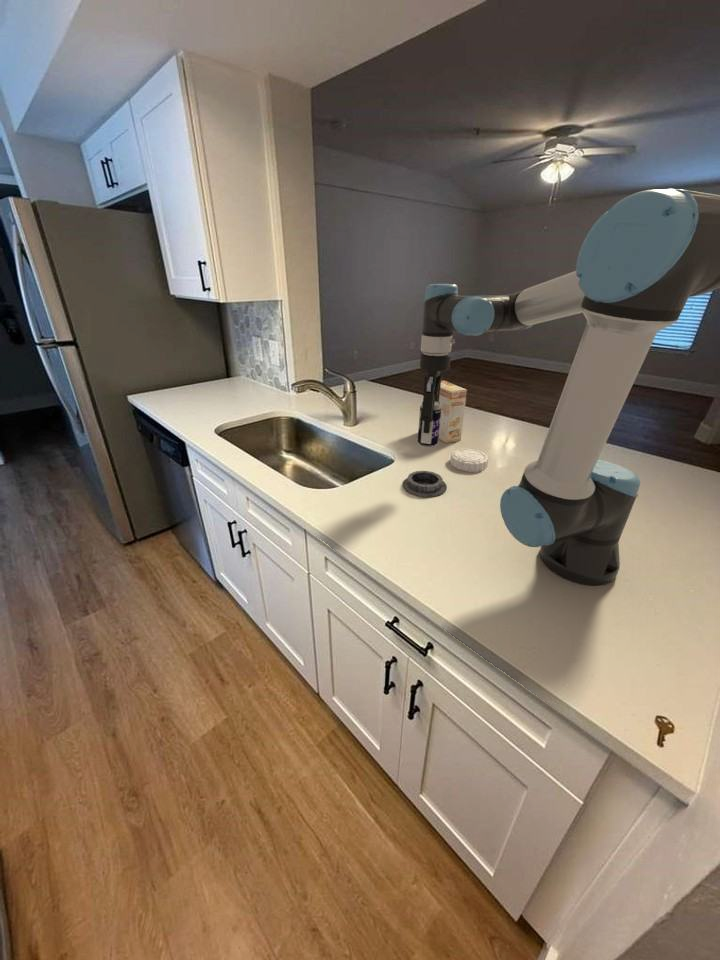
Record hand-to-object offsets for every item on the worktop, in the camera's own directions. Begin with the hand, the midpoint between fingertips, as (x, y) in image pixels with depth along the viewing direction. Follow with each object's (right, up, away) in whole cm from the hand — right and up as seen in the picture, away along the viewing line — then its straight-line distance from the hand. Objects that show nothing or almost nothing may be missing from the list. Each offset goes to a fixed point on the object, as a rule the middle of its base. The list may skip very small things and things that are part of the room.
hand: (427, 438), depth 108 cm
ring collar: (0, -13, +7) cm, 15 cm away
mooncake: (+17, -7, +21) cm, 28 cm away
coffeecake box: (+13, +6, +43) cm, 45 cm away
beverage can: (0, -2, +1) cm, 2 cm away
